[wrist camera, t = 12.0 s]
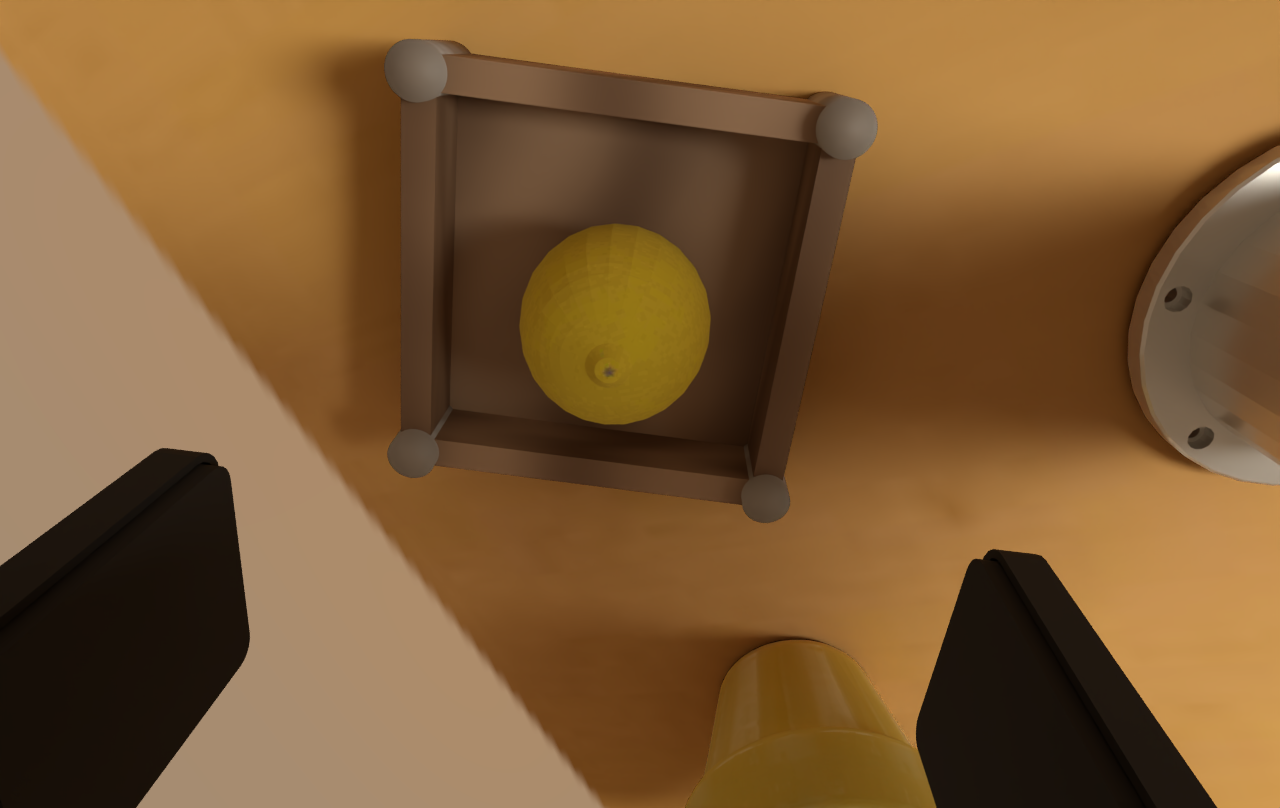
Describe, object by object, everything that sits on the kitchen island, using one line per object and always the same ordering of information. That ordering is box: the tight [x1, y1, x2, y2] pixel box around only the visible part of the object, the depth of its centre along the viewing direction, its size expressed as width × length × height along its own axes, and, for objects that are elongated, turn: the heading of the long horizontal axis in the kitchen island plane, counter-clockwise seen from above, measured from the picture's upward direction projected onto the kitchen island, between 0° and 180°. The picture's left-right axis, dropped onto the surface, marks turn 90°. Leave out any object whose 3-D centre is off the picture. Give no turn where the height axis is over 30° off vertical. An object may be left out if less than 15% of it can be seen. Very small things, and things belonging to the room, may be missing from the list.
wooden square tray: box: [384, 39, 878, 523], centre depth 26 cm, size 14×14×4 cm
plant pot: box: [685, 640, 936, 808], centre depth 31 cm, size 10×10×10 cm
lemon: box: [519, 224, 711, 424], centre depth 23 cm, size 6×6×8 cm
